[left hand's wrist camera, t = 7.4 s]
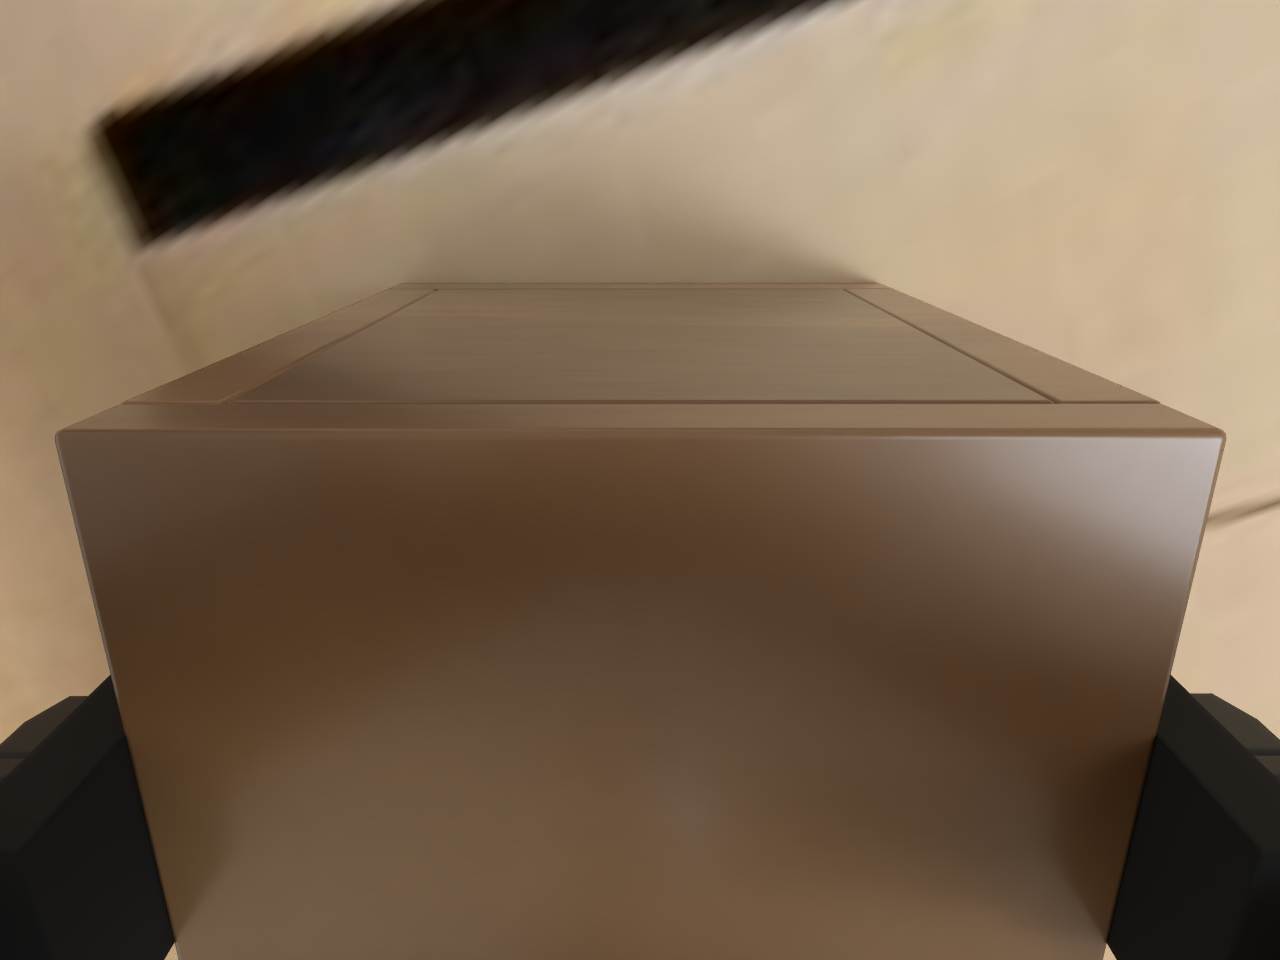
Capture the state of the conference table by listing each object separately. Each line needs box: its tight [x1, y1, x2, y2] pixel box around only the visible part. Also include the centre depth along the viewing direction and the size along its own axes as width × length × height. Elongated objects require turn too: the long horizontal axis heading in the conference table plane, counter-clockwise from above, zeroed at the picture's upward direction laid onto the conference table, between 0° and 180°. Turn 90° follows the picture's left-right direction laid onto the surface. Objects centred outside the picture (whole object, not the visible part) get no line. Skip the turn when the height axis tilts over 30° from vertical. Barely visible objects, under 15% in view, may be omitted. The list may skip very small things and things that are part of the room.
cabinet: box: [55, 283, 1226, 960], centre depth 15 cm, size 17×10×11 cm, turn 0°
